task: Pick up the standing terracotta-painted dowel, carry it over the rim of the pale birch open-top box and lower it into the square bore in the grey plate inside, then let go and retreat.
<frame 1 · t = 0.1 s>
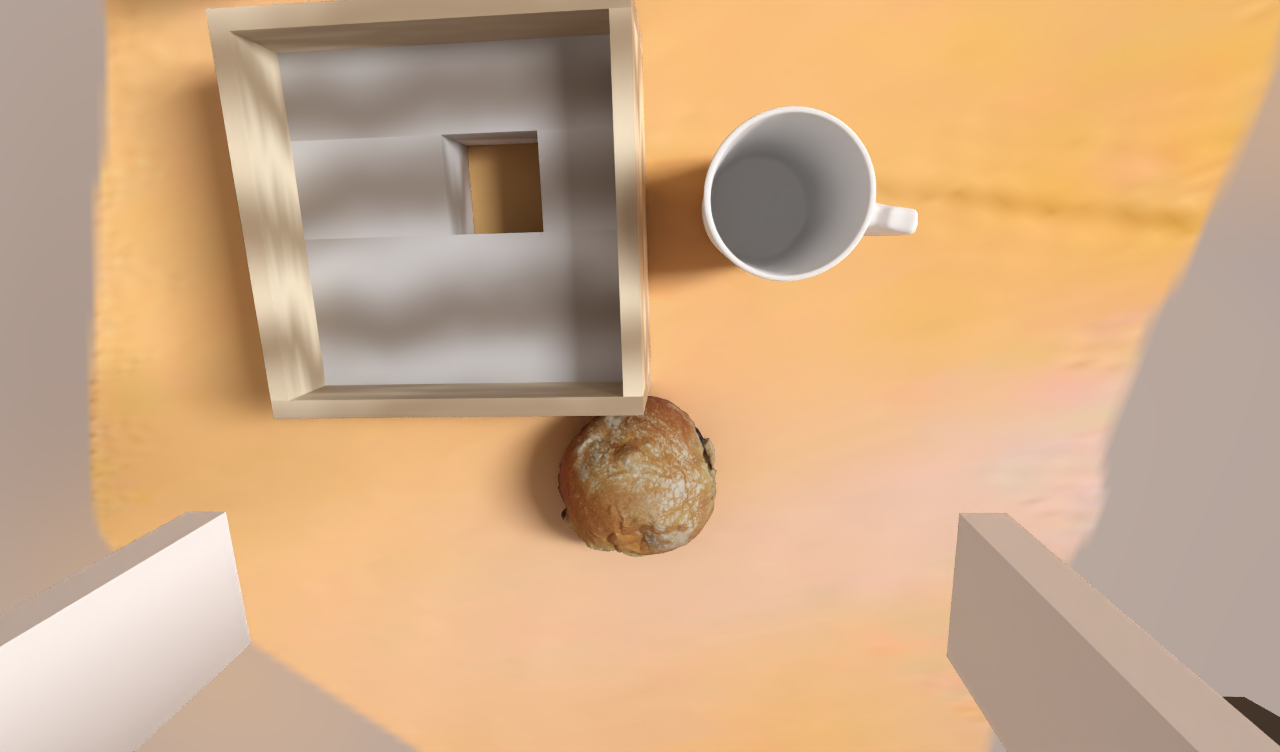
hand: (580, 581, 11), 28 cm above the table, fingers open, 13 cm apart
socket box: (483, 224, 37), on the table
mug: (781, 215, 36), on the table
bread roll: (638, 469, 41), on the table
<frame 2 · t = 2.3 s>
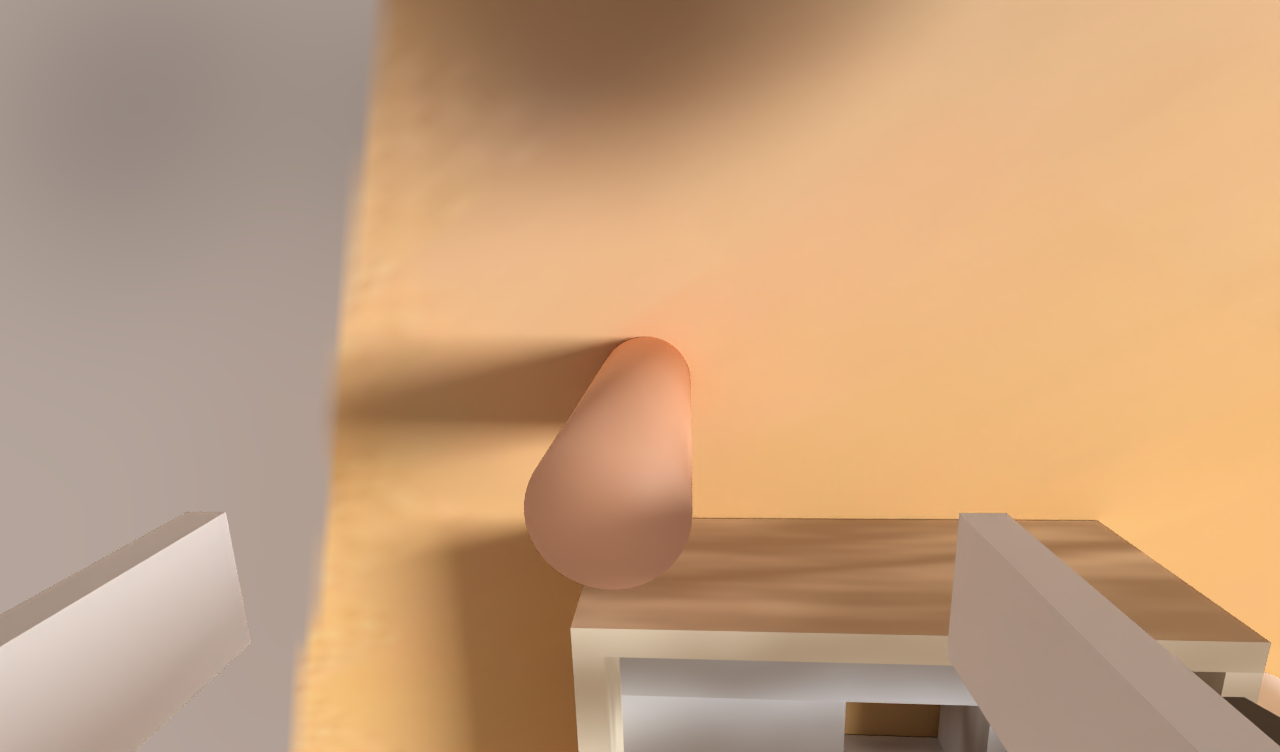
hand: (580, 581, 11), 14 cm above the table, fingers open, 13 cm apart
socket box: (832, 723, 28), on the table
mug: (1259, 732, 26), on the table
peg: (645, 380, 25), on the table
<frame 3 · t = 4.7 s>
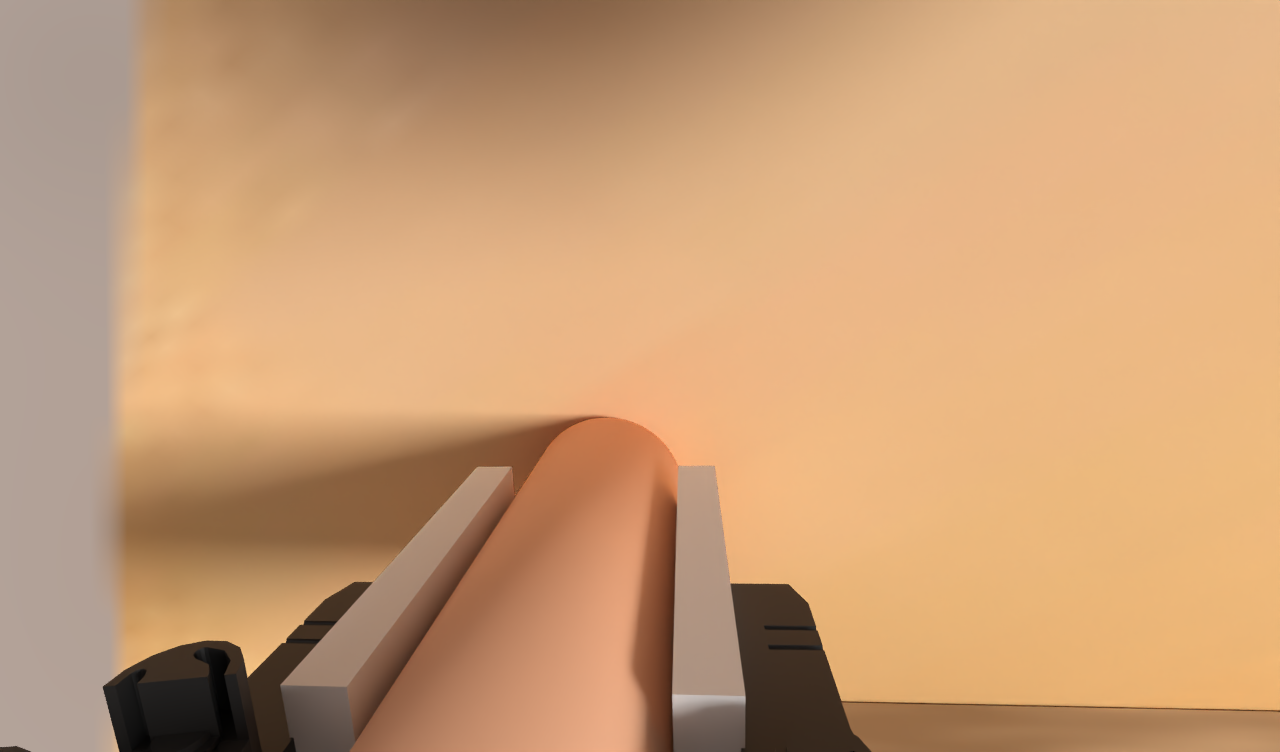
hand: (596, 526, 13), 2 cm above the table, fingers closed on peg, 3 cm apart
peg: (608, 487, 15), on the table, touching gripper
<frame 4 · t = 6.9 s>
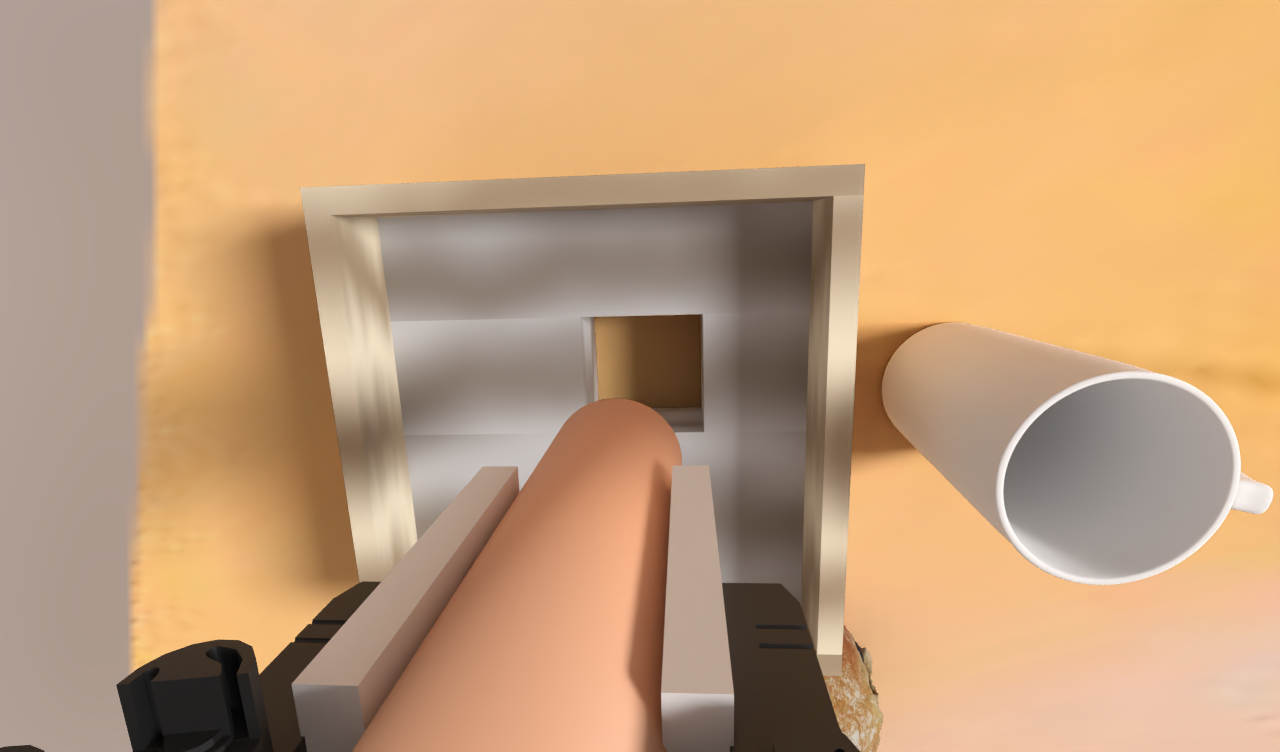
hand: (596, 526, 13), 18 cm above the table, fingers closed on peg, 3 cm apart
socket box: (610, 396, 31), on the table
mug: (977, 390, 30), on the table
bread roll: (775, 675, 34), on the table
peg: (617, 461, 17), point 14 cm above the table, touching gripper
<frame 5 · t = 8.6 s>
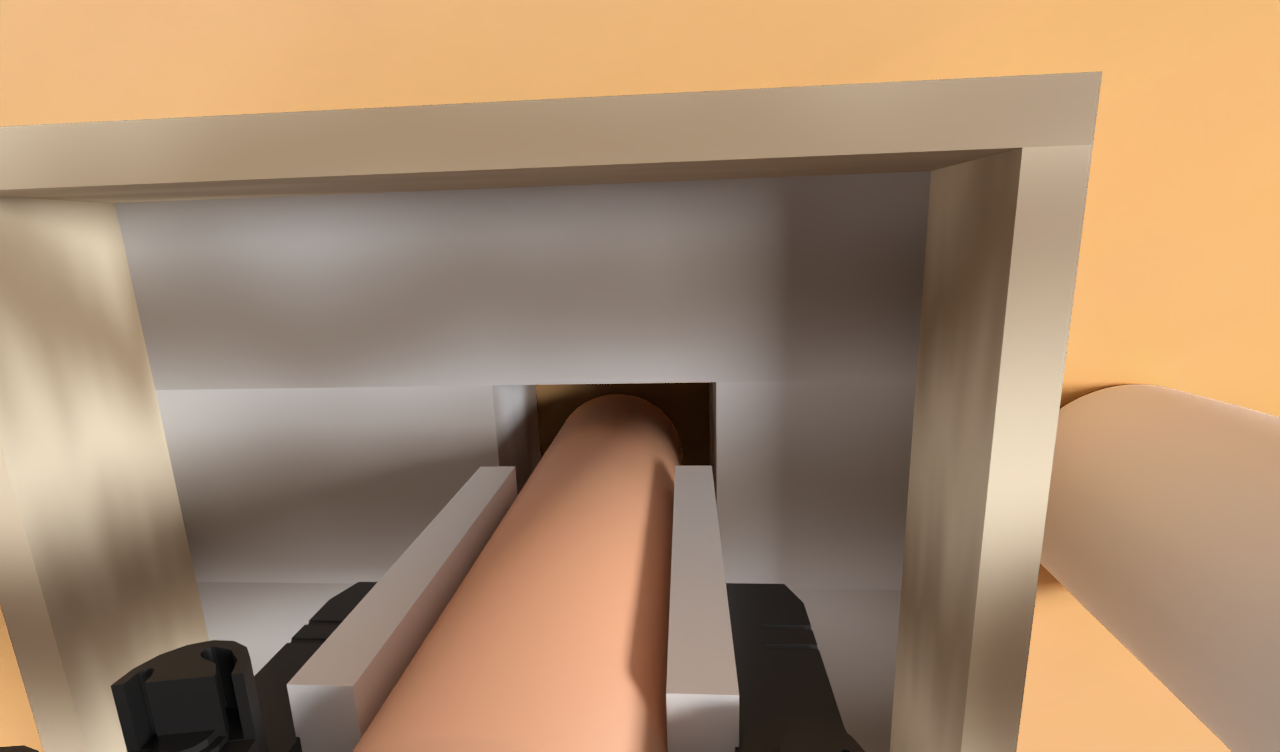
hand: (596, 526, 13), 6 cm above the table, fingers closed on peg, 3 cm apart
socket box: (562, 497, 19), on the table
mug: (1167, 494, 18), on the table
peg: (618, 455, 17), point 1 cm above the table, touching gripper
when the fingers open (5 cm above the table, at t = 9.6 s): peg stays where it is, on the table.
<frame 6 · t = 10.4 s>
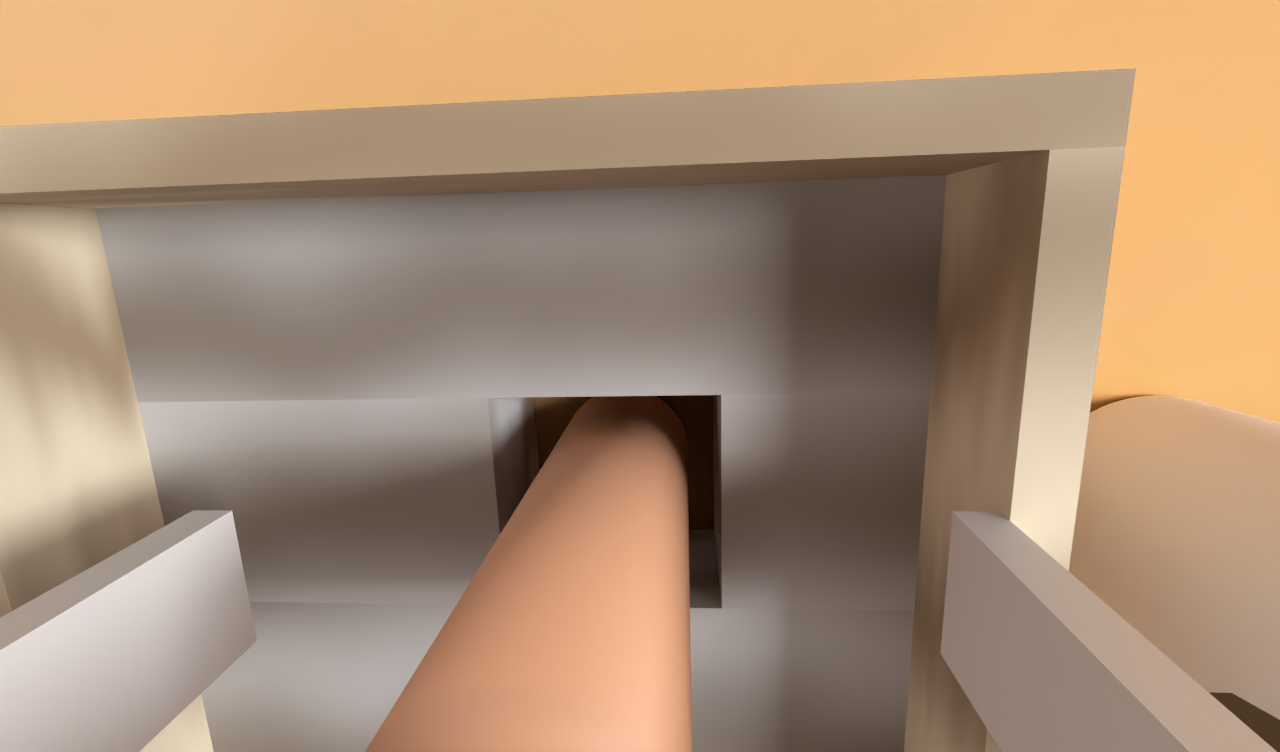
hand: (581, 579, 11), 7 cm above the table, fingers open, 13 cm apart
socket box: (561, 510, 19), on the table
mug: (1188, 508, 17), on the table
peg: (626, 447, 18), on the table
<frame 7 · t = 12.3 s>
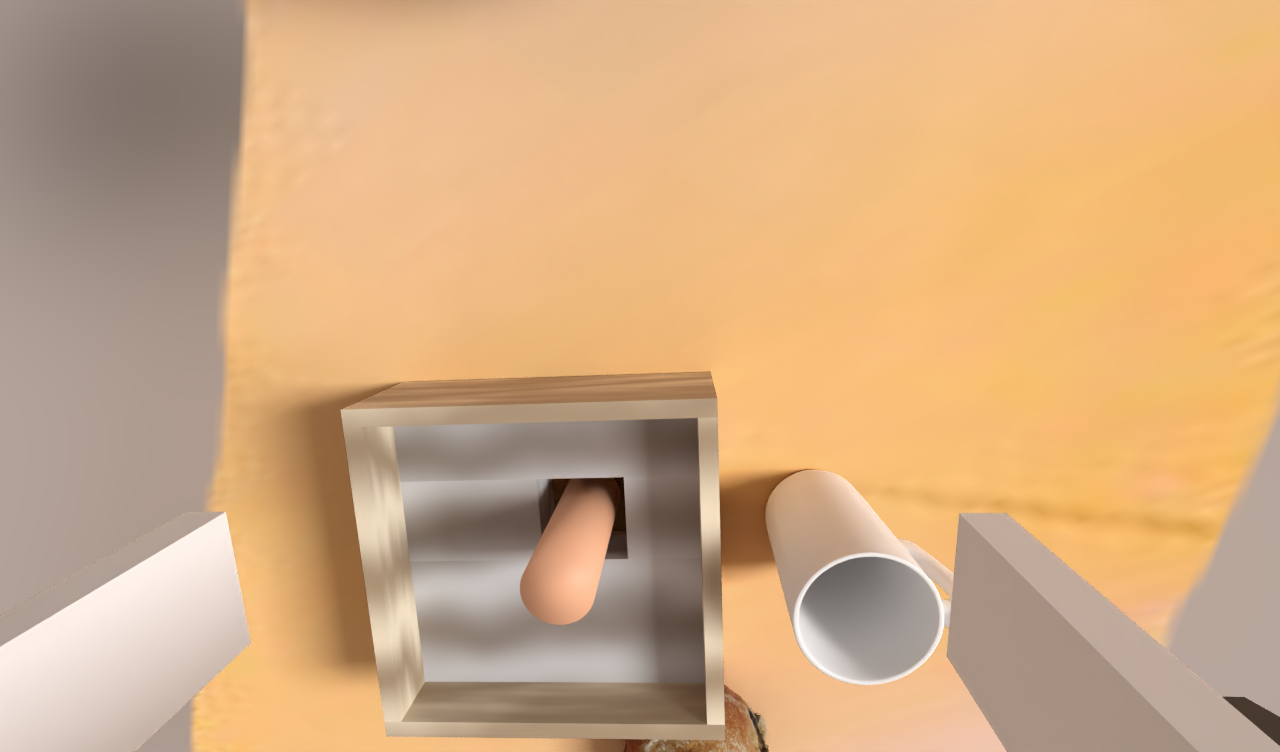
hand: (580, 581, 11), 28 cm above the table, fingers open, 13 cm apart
socket box: (564, 522, 41), on the table
mug: (837, 517, 40), on the table
bread roll: (694, 736, 44), on the table
peg: (592, 494, 41), on the table
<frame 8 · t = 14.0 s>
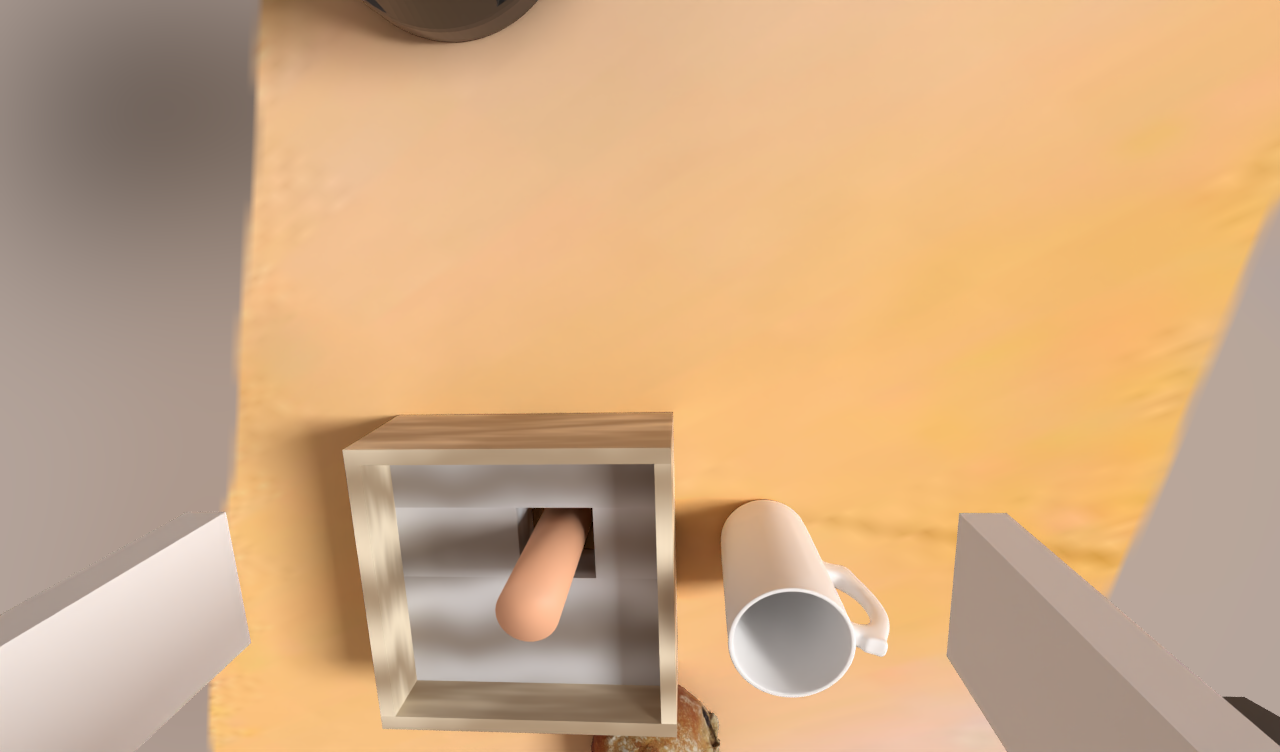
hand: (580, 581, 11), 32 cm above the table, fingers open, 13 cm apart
socket box: (542, 541, 46), on the table
mug: (784, 541, 45), on the table
bread roll: (655, 730, 49), on the table
peg: (567, 517, 45), on the table
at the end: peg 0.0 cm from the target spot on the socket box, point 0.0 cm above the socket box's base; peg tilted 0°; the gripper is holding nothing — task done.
